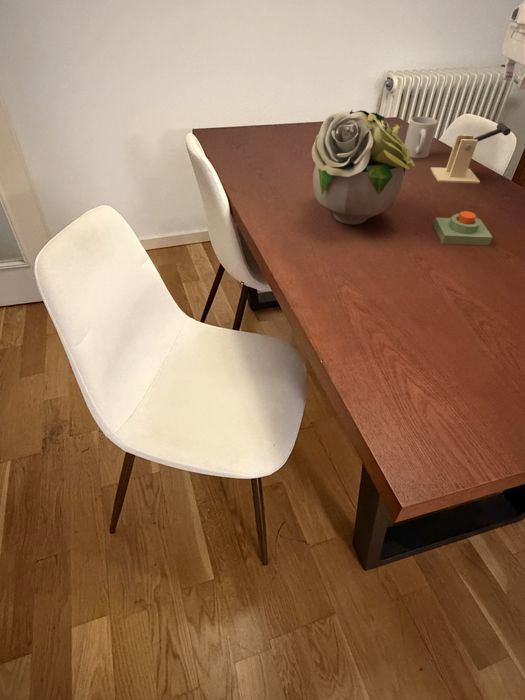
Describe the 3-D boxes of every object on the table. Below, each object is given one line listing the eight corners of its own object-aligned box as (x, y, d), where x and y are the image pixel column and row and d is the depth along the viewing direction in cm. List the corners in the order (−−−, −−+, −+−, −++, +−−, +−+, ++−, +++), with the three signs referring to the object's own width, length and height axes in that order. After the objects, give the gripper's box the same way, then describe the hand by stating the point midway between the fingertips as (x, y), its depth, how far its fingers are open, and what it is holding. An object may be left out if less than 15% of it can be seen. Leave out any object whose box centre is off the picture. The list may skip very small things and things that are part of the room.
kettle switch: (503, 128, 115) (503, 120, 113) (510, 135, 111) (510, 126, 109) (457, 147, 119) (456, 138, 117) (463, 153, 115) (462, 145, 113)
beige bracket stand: (468, 173, 126) (483, 132, 118) (478, 186, 119) (495, 144, 110) (429, 172, 126) (441, 131, 118) (437, 185, 119) (451, 142, 111)
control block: (476, 227, 101) (483, 212, 98) (488, 245, 95) (496, 230, 92) (432, 225, 101) (437, 210, 99) (441, 243, 95) (447, 228, 92)
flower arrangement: (289, 230, 99) (296, 120, 81) (317, 190, 115) (328, 92, 98) (391, 250, 92) (422, 136, 75) (405, 206, 109) (433, 103, 92)
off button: (470, 218, 97) (473, 211, 95) (475, 225, 94) (478, 218, 93) (455, 217, 97) (458, 210, 96) (459, 224, 94) (462, 217, 93)
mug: (400, 150, 139) (409, 115, 132) (426, 152, 138) (436, 117, 131) (403, 163, 131) (412, 126, 123) (430, 165, 130) (441, 128, 122)
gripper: (576, 19, 86) (544, 94, 95) (535, 10, 100) (511, 76, 110) (546, 19, 86) (517, 94, 96) (509, 9, 100) (487, 75, 110)
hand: (513, 84), depth 103 cm, fingers open, 8 cm apart
